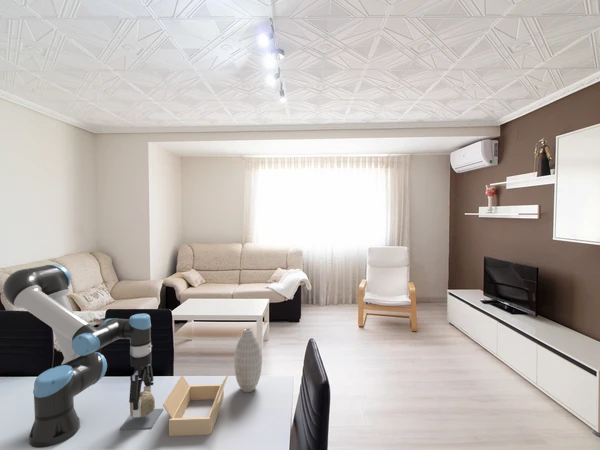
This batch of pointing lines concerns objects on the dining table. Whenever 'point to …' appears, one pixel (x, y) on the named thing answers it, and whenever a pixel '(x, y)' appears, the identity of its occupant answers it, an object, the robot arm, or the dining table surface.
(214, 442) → the dining table surface
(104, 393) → the dining table surface
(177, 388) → the carton
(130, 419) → the mat
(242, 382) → the vase
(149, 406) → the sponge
